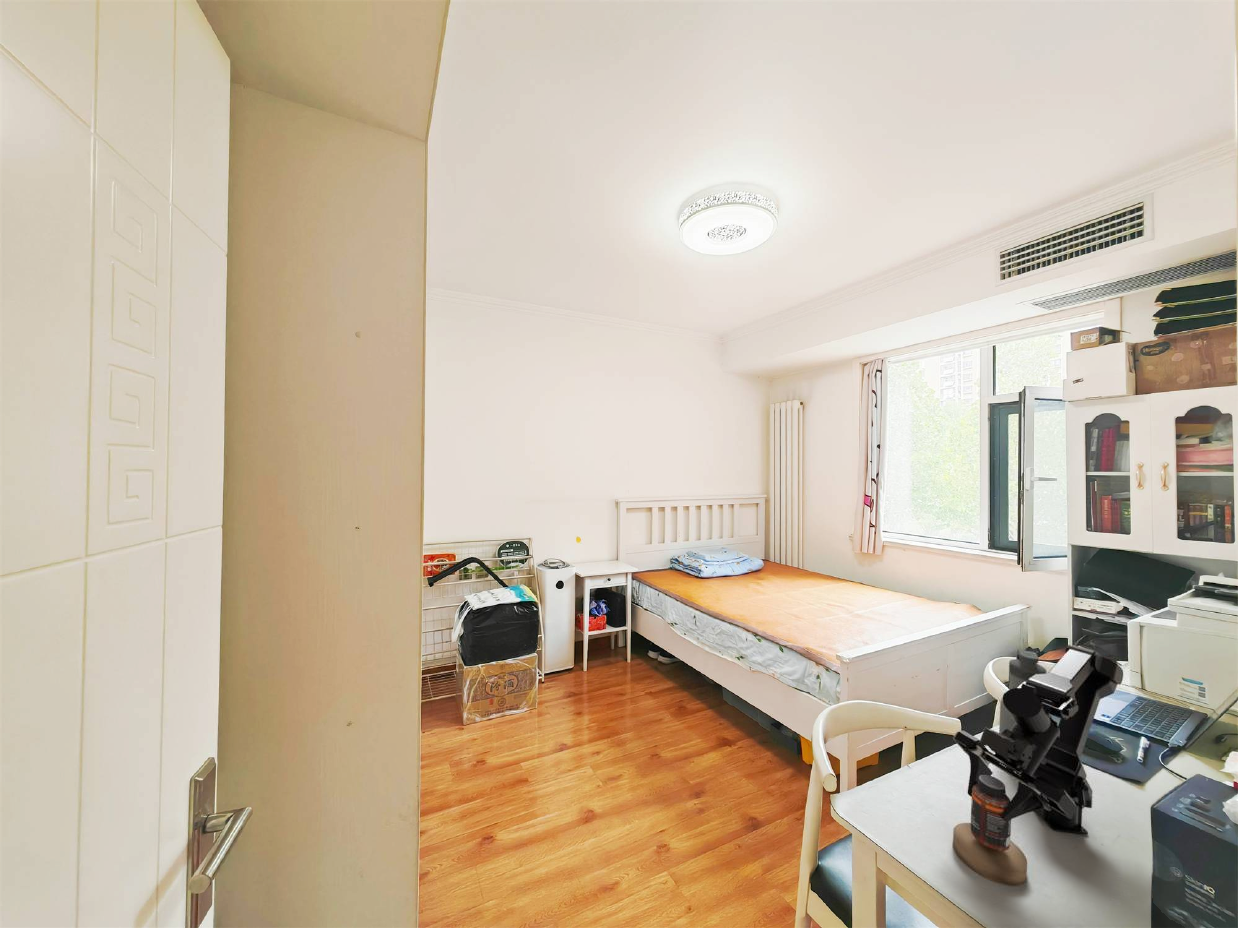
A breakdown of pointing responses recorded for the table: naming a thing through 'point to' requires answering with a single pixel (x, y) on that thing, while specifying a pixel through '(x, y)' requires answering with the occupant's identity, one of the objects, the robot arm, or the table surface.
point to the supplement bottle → (990, 813)
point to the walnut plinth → (990, 858)
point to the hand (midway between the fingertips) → (985, 806)
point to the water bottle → (1019, 681)
